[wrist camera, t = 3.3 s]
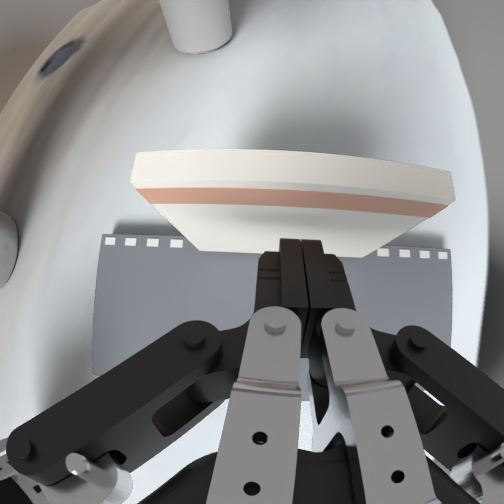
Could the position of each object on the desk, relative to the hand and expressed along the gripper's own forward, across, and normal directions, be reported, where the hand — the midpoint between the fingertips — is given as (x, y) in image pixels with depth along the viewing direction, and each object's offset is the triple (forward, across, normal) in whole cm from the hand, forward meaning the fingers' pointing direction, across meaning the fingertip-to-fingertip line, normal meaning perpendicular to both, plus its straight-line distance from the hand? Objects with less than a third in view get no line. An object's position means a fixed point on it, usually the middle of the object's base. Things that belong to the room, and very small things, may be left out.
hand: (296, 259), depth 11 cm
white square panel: (+10, 0, +5) cm, 11 cm away
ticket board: (+7, 0, +10) cm, 12 cm away
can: (+29, +10, -12) cm, 33 cm away
